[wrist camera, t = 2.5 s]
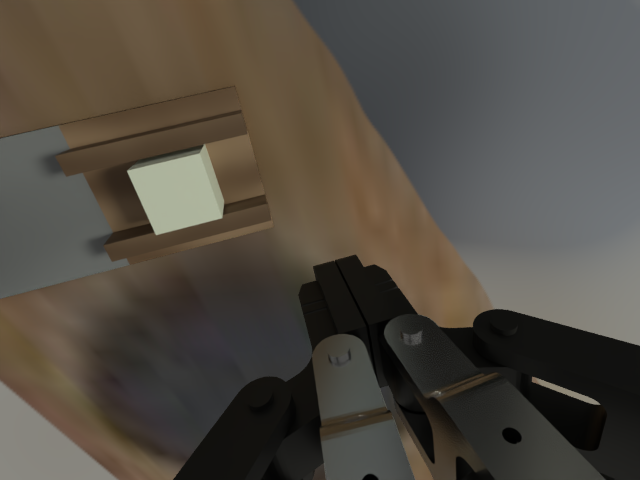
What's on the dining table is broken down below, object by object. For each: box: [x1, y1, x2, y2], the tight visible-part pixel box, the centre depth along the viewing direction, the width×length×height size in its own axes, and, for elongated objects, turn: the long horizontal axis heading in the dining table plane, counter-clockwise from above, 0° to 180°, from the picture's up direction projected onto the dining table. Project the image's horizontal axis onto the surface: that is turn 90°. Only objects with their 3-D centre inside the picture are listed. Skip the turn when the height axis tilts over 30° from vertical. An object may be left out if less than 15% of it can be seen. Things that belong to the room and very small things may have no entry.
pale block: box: [127, 144, 224, 235], centre depth 28 cm, size 5×5×4 cm
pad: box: [0, 125, 130, 299], centre depth 28 cm, size 12×11×1 cm
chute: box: [55, 86, 274, 265], centre depth 28 cm, size 12×13×3 cm
